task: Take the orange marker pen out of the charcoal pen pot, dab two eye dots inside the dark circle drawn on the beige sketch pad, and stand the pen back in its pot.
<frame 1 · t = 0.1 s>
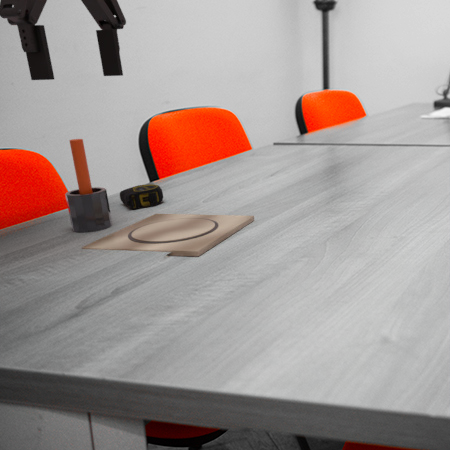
hand: (81, 78, 79), 24 cm above the table, tool pointing down, fingers open, 13 cm apart
marker pen: (92, 227, 91), point 1 cm above the table, touching pen pot
pen pot: (93, 230, 91), on the table
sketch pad: (175, 235, 88), on the table
tape measure: (141, 209, 105), on the table
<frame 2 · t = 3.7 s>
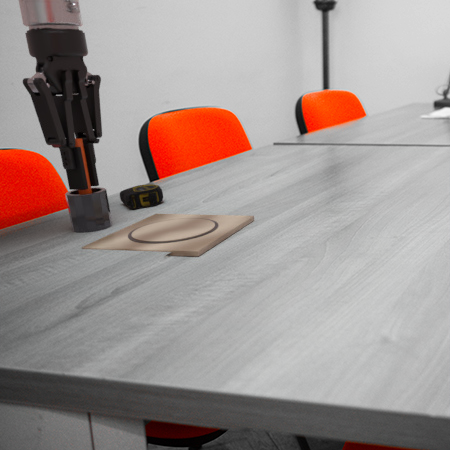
hand: (84, 187, 89), 7 cm above the table, tool pointing down, fingers closed on marker pen, 2 cm apart
marker pen: (91, 226, 91), point 1 cm above the table, touching gripper
everything else where it was.
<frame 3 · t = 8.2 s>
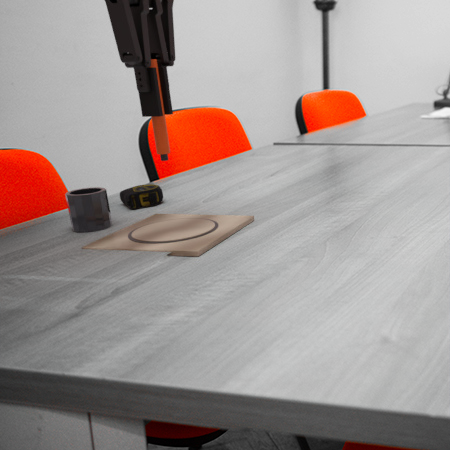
hand: (157, 115, 80), 18 cm above the table, tool pointing down, fingers closed on marker pen, 2 cm apart
marker pen: (164, 160, 82), point 12 cm above the table, touching gripper
everything else where it was.
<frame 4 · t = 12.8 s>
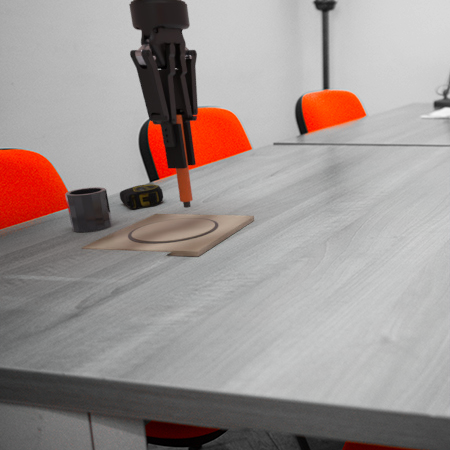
hand: (182, 166, 86), 10 cm above the table, tool pointing down, fingers closed on marker pen, 2 cm apart
marker pen: (187, 206, 88), point 4 cm above the table, touching gripper
everything else where it was.
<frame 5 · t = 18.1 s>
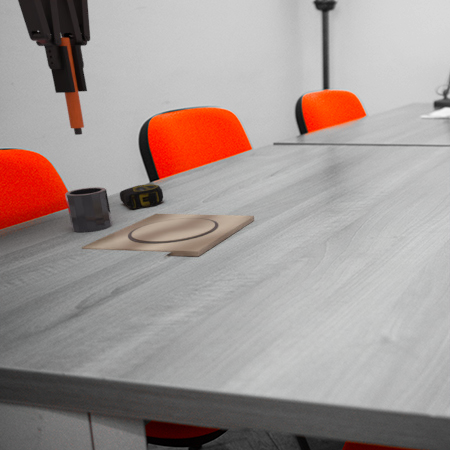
hand: (71, 91, 85), 22 cm above the table, tool pointing down, fingers closed on marker pen, 2 cm apart
marker pen: (78, 134, 87), point 15 cm above the table, touching gripper
everything else where it was.
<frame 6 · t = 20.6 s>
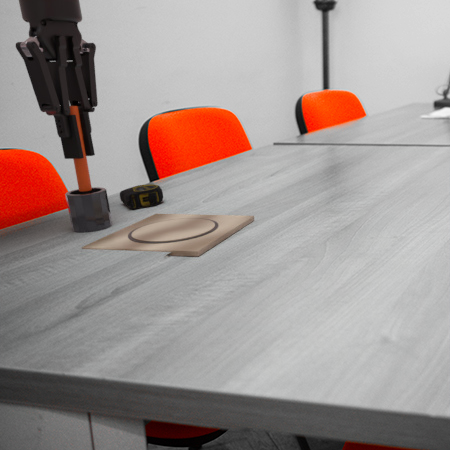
hand: (79, 156, 88), 12 cm above the table, tool pointing down, fingers closed on marker pen, 2 cm apart
marker pen: (86, 196, 90), point 6 cm above the table, touching gripper
everything else where it was.
when the fingers open (7 cm above the table, at t = 22.1 s): marker pen stays where it is, resting on pen pot.
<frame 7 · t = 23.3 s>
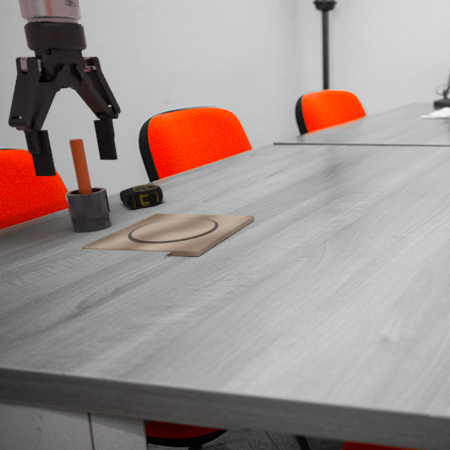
hand: (79, 167, 88), 10 cm above the table, tool pointing down, fingers open, 13 cm apart
marker pen: (92, 227, 91), point 1 cm above the table, touching pen pot
everything else where it was.
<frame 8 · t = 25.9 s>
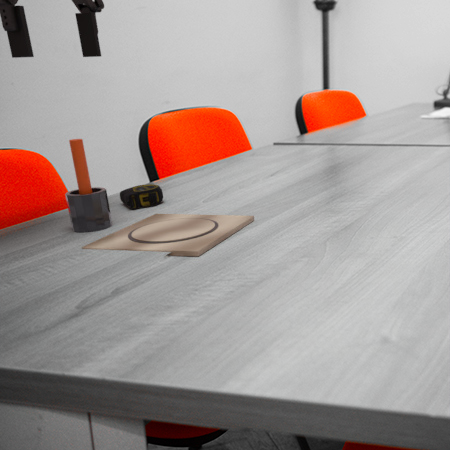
hand: (60, 57, 84), 27 cm above the table, tool pointing down, fingers open, 13 cm apart
nothing on the table moved.
at the end: marker pen 0.1 cm off-centre in the pen pot, point 0.6 cm above the pen pot's base; marker pen tilted 0°; tape measure moved 0.2 cm from its start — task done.
